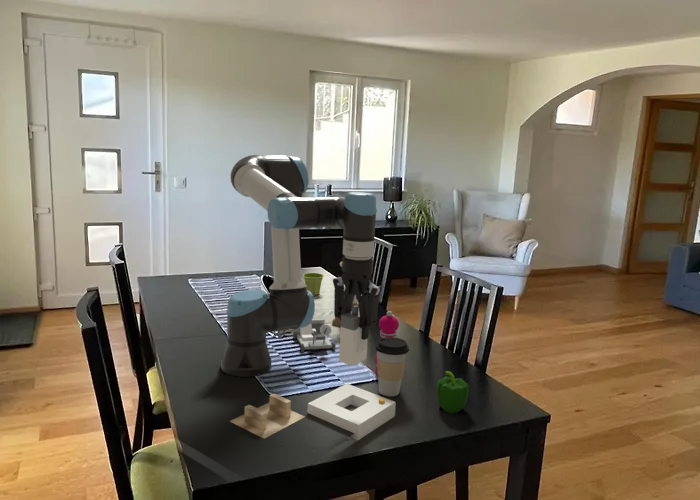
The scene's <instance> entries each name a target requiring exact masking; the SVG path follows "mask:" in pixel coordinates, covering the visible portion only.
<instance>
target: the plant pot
mask: <svg viewBox="0 0 700 500" xmlns="http://www.w3.org/2000/svg"><path fill="white" fill-rule="evenodd" d="M302 276H303V279H304V284H305V285H306V286H307V290H308V291H310V292H311V293H312V294H313V296H316V295H319V294H320V291H321V286H322V282H323V279H324V274H322V273H319V272H306V273H303V275H302Z"/></svg>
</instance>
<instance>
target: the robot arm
mask: <svg viewBox="0 0 700 500" xmlns="http://www.w3.org/2000/svg"><path fill="white" fill-rule="evenodd" d="M309 180H310V179H309V173H308V169H307V166H306V164H305V163H304V161H303V159H302V158H300V157H298V156H291V155H270V154H269V155H267V154H266V155H263V154H261V155H260V154H253V155H252V154H250V155H248V156H245V157H242V158H241V159H239V160H238V161H236V163H235V164H234V166H233V167H232V169H231V172H230V183H231V185H232V187H233V189H234V190H235V191H236V193H238V194H240V195H241V196H243V197H248V198H251V199H252V201H254V202H256V203H257V204H258V205H259V206H261V207H262V209H264V210H265V211H267V219H268V222H269V224H270V227H271V230H270V231H271V250H272V270H273V282H272V284H271V285H270V286H269V289H268V290H269V294H267V292H266V290H264V289H257V288H256V289H245V290H241V291H238V292H236V293H234V294H232V295H231V296H229V298H228V300H227V309H226V317H227V318H226V322H227V323H226V328H227V330H226V334H227V335H226V337H227V338H226V339H227V343H226V347H225V349H224V353H223V356H222V357H221V361H220V363H221V364H220V365H221V367H220V368H221V369H220V370H222V372H223V373H225V374H227V375H230V376H233V377H242V378H244V377H245V378H249V377H256V376H261V375H263V374H265V373H268V372H269V371H270V370H271V369H272V357H271V355H270V351H269V347H268V345H267V334H268V333H274V332H281V331H288V330H295V331H296V329H298V328H302V327H306V326H308V325H309V324H310V322H311V321H312V319H314V315H315V309H316V307H315V305H316V302H315V298H314V295H313V294H312V293H311V292H310V291H308V290H307V286H306V285H305V282H303V281H302V265H301V264H302V263H301V248H300V246H301V245H300V229H308V228H310V229H311V228H312V229H313V228H334V227H335V228H337V227H338V228H341V229H343V233H342V235H343V236H342V237H343V238H342V239H343V240H342V255H343V257H342V259H341V260H342V261H341V262H342V267H341V271H342V272H343V273H342V275H341V276H339V277H335V278H333V279H332V282H333V287H334V292H333V293H334V295H333V296H334V299H333V300H334V306H333V307H334V308H333V309H334V313H333V315H334V318H335V317H338V318H339V319H340V321H341V315H343V314H346V313H349V312H351V308H352V304H353V300H354V296H355V295H356V299H357V300H358V303H357V304H358V306H359V315H360V323H361V325H360V326H358V336H357V352H358V353H360V352H362V351H364V350H366V339H367V340H369V336H370V327H373V326H375V325H377V322H378V321H377V320H378V311H379V298H380V294H381V292H382V290H383V288H382V286H380V285H378V286H377V285H376V284H374V282H373V278H372V274H373V271H374V259H373V257H374V256H375V255H374V254H375V234H376V220H377V211H378V210H377V197H376V195H375V194H374V193H371V192H364V191H363V192H362V191H351V192H350V191H349V192H347V193H346V194H345V197H344V196H341V195H337V194H336V195H333V194H331V195H327V196H317V197H316V196H311V197H310V196H308V197H307V196H303V195H304V194H305V193H306V192H307V190H308V189H309V185H310V184H309V182H310V181H309ZM339 330H340V331H341V328H340V329H339Z"/></svg>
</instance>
